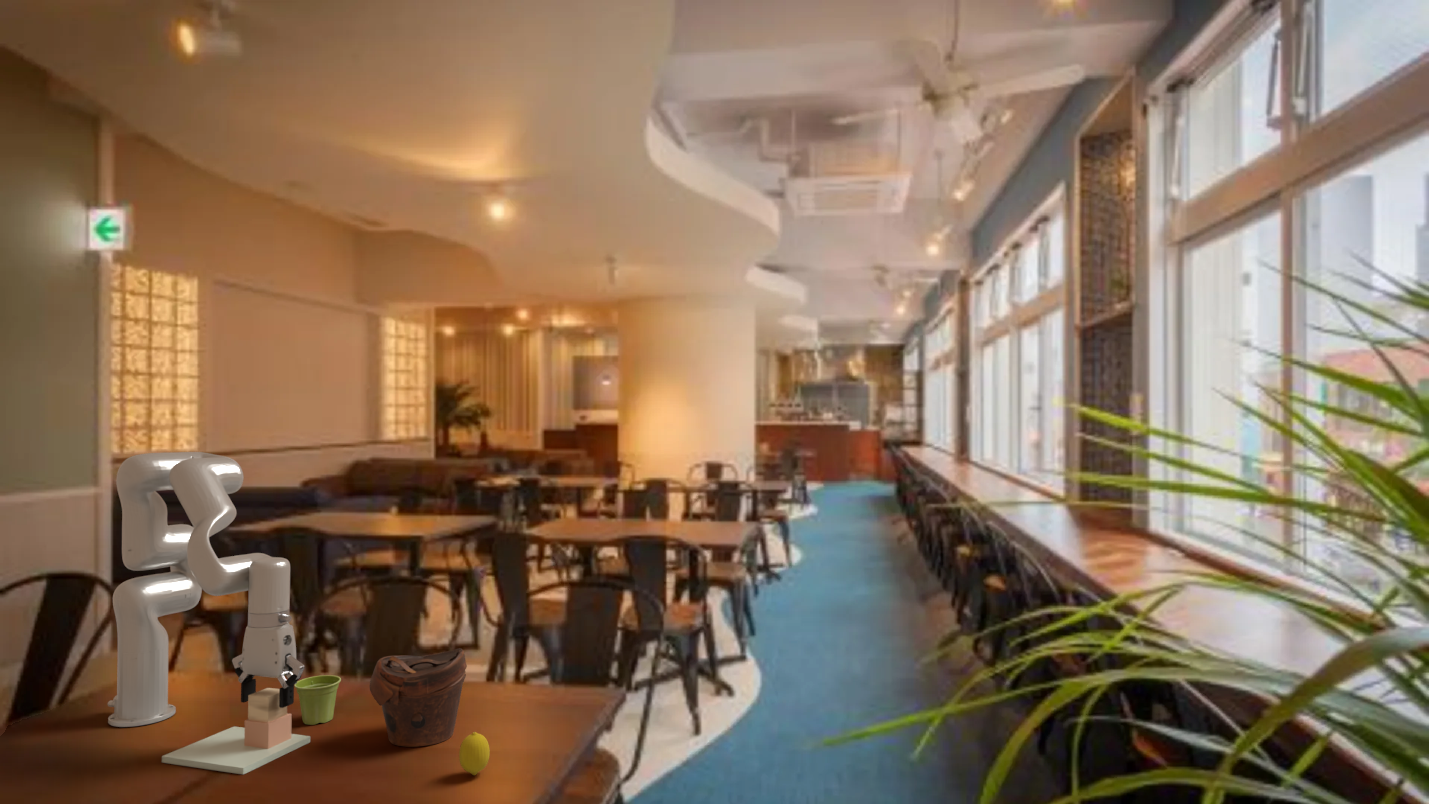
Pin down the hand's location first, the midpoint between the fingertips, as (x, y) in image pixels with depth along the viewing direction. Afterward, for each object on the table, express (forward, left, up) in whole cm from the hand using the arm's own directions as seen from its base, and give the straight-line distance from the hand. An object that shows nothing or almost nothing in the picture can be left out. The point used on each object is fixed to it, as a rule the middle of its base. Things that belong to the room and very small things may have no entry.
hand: (267, 703), depth 174 cm
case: (+26, +14, -9) cm, 31 cm away
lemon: (+48, 0, -9) cm, 49 cm away
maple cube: (0, 0, -3) cm, 3 cm away
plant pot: (-2, +16, -9) cm, 18 cm away
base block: (0, 0, -8) cm, 8 cm away
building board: (-4, -4, -9) cm, 10 cm away
